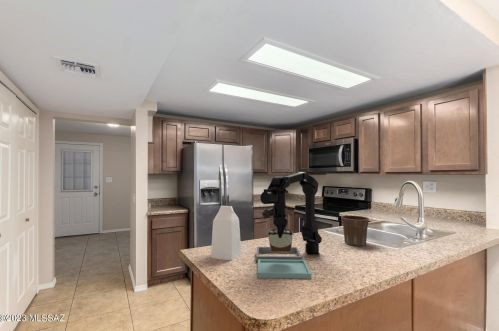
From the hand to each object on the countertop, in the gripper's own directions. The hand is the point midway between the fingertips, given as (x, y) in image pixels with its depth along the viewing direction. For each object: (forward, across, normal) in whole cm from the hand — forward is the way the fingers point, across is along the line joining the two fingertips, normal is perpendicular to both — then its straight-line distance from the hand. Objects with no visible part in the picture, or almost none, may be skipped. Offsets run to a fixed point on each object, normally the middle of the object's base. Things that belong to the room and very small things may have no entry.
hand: (279, 236), depth 120 cm
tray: (+13, +7, +1) cm, 15 cm away
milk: (+14, -13, -27) cm, 33 cm away
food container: (+7, -2, +1) cm, 7 cm away
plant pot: (+13, -40, +48) cm, 64 cm away
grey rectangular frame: (+13, -11, 0) cm, 17 cm away
